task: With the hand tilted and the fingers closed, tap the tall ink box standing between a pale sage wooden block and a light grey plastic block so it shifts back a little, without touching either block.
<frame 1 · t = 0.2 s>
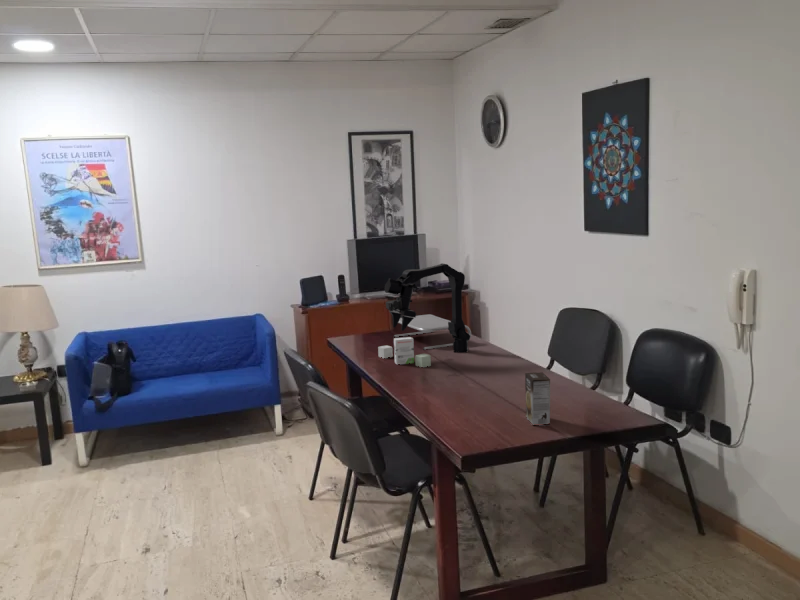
hand: (398, 328, 328), 15 cm above the table, tool tilted 15°, fingers open, 9 cm apart
grey block: (385, 357, 339), on the table
ink box: (404, 363, 325), on the table
sage block: (423, 365, 319), on the table
monitor stand: (431, 341, 372), on the table
coffee box: (537, 421, 239), on the table
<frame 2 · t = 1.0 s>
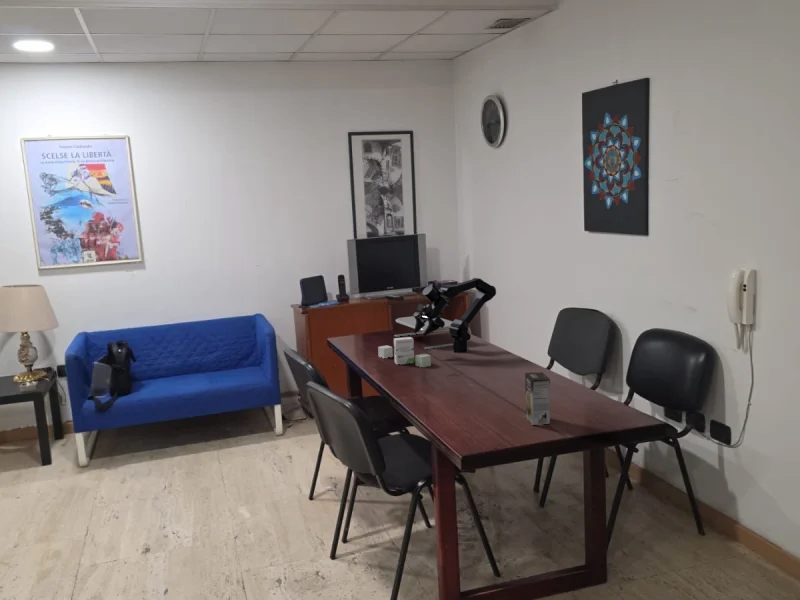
hand: (419, 334, 329), 12 cm above the table, tool tilted 45°, fingers open, 7 cm apart
nothing on the table moved.
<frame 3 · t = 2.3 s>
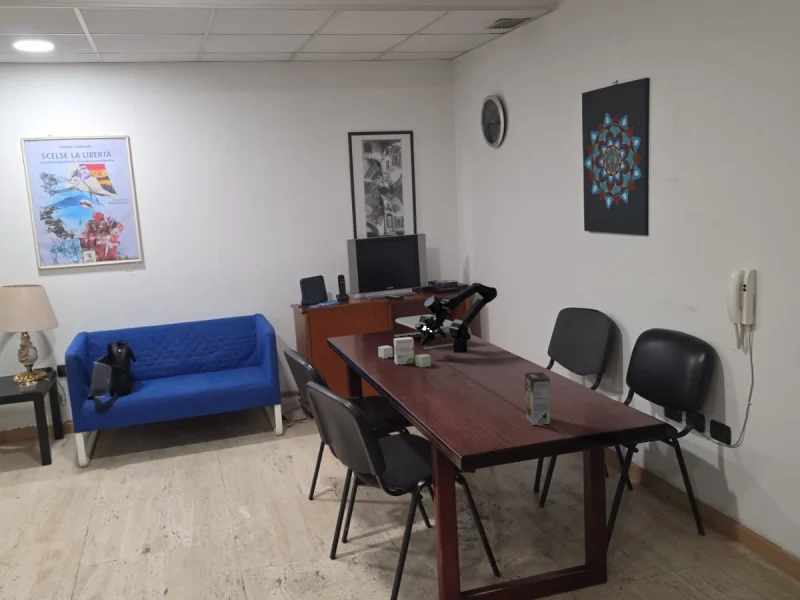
hand: (420, 345, 330), 7 cm above the table, tool tilted 45°, fingers closed
nothing on the table moved.
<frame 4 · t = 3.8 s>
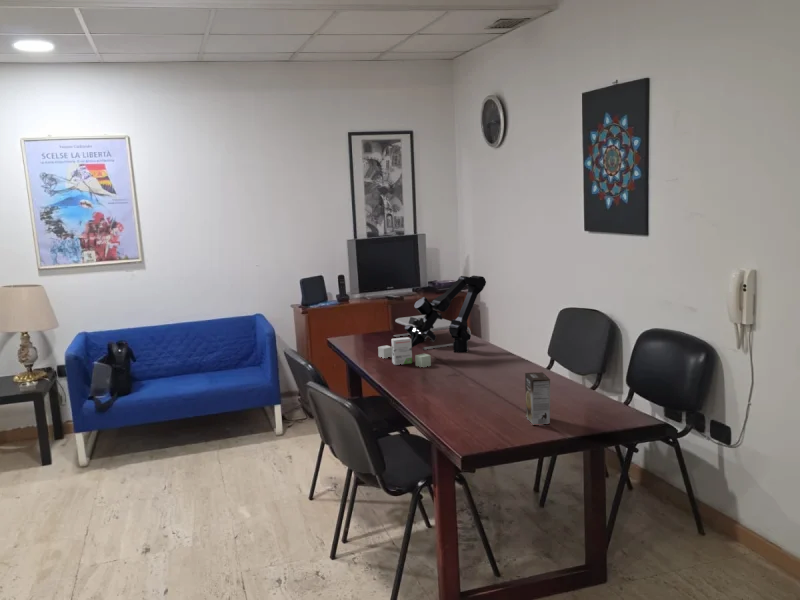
hand: (410, 347, 326), 7 cm above the table, tool tilted 45°, fingers closed
ink box: (402, 363, 325), on the table, touching gripper
everything else where it was.
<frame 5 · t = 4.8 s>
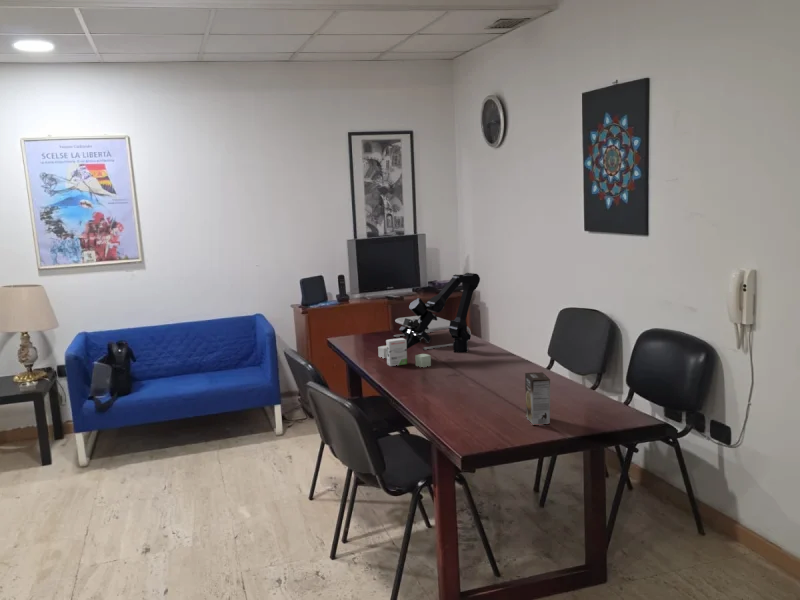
hand: (404, 348, 325), 7 cm above the table, tool tilted 45°, fingers closed
ink box: (397, 364, 323), on the table, touching gripper
everything else where it was.
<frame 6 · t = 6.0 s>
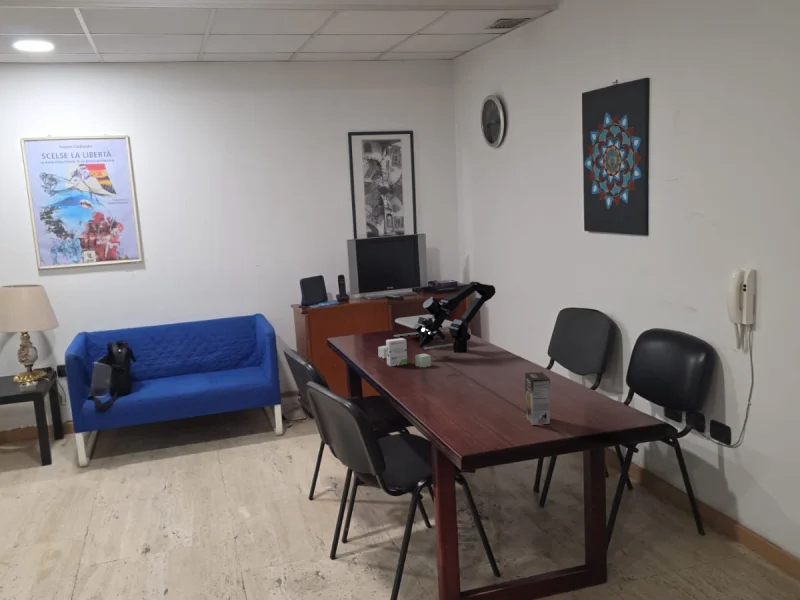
hand: (419, 346, 329), 6 cm above the table, tool tilted 45°, fingers closed
ink box: (397, 364, 323), on the table
everything else where it was.
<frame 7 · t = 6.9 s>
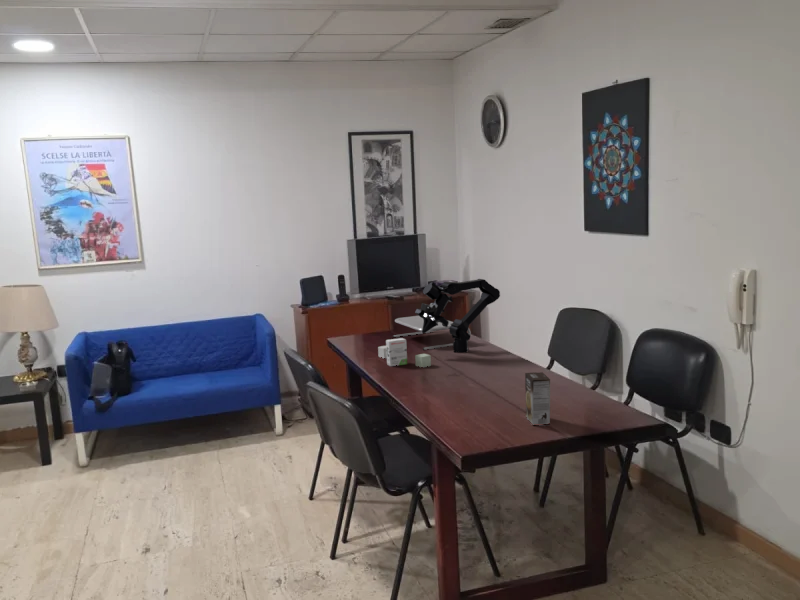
hand: (422, 332, 332), 12 cm above the table, tool tilted 40°, fingers closed
nothing on the table moved.
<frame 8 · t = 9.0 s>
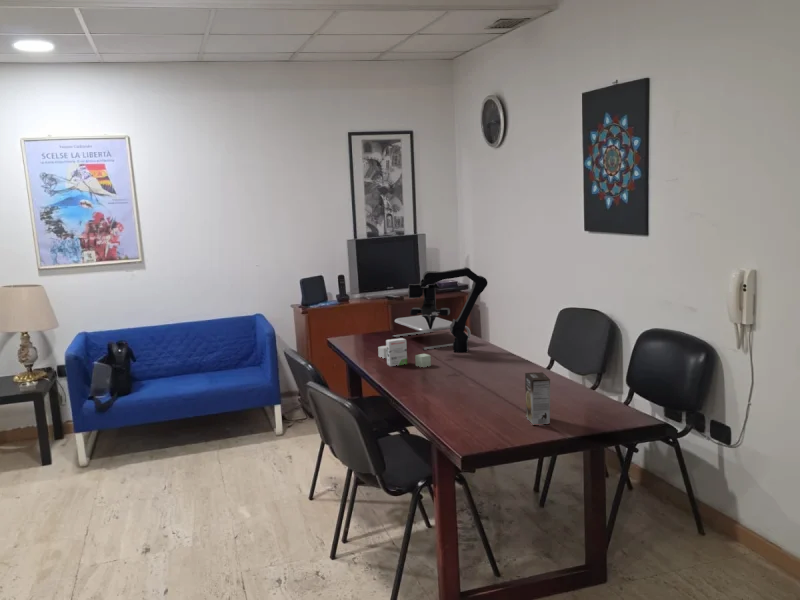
hand: (430, 328, 341), 12 cm above the table, tool pointing down, fingers closed
nothing on the table moved.
at the end: ink box moved 4.1 cm from its start; ink box tilted 0°; sage block moved 0.1 cm from its start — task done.
